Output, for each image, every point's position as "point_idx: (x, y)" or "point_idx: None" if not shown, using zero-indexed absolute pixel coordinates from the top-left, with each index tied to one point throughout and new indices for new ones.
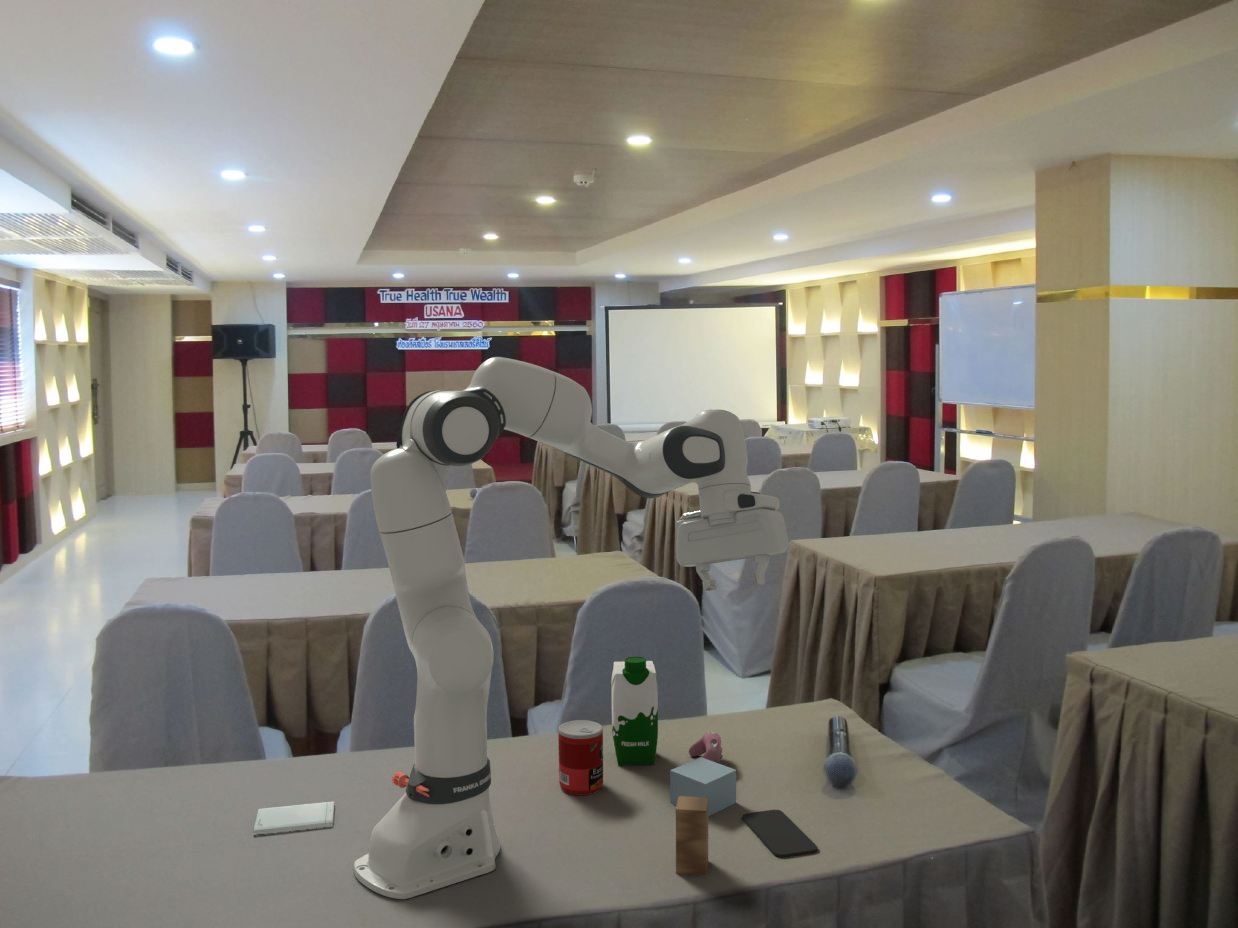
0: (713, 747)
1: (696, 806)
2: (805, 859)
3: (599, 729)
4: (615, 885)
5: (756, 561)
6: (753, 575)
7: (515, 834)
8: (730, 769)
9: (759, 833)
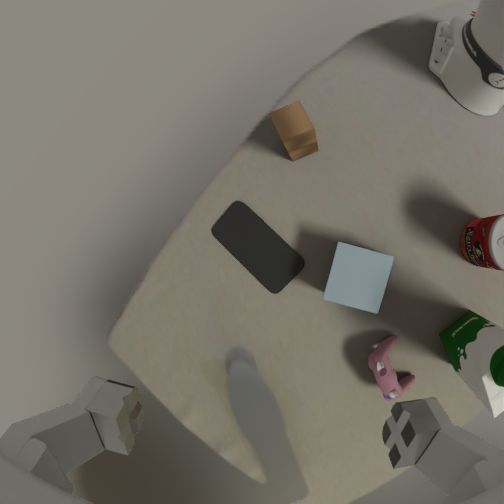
0: (379, 361)
1: (283, 116)
2: (217, 211)
3: (493, 249)
4: (338, 88)
5: (40, 445)
6: (107, 409)
7: (461, 122)
8: (329, 297)
9: (270, 231)
